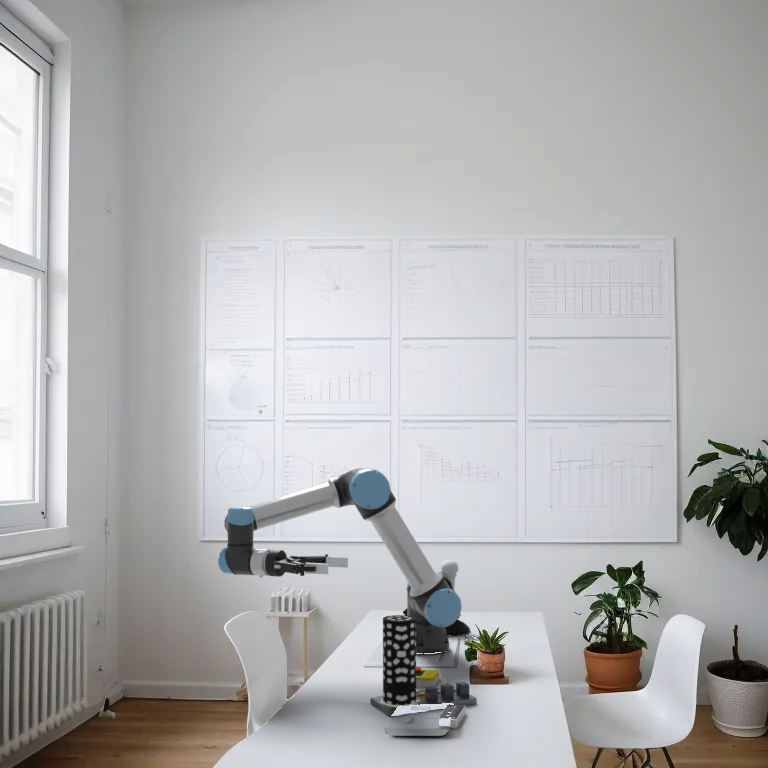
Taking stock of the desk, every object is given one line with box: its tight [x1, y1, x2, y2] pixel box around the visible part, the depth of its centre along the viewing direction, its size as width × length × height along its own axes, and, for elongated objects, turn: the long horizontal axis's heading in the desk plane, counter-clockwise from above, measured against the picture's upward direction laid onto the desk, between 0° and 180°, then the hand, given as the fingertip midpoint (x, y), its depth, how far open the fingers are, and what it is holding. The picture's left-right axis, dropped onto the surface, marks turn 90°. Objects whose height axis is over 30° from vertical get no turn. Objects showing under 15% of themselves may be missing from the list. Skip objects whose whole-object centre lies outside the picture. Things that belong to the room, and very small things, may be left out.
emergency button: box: [416, 666, 448, 689], centre depth 231 cm, size 9×4×15 cm
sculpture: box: [402, 559, 471, 637], centre depth 297 cm, size 15×24×25 cm, turn 85°
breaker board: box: [370, 681, 478, 718], centre depth 212 cm, size 24×12×4 cm, turn 114°
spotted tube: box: [382, 614, 417, 705], centre depth 210 cm, size 8×8×20 cm
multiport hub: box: [438, 704, 466, 729], centre depth 199 cm, size 4×11×2 cm, turn 164°
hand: (337, 565), depth 233 cm, fingers open, 13 cm apart
